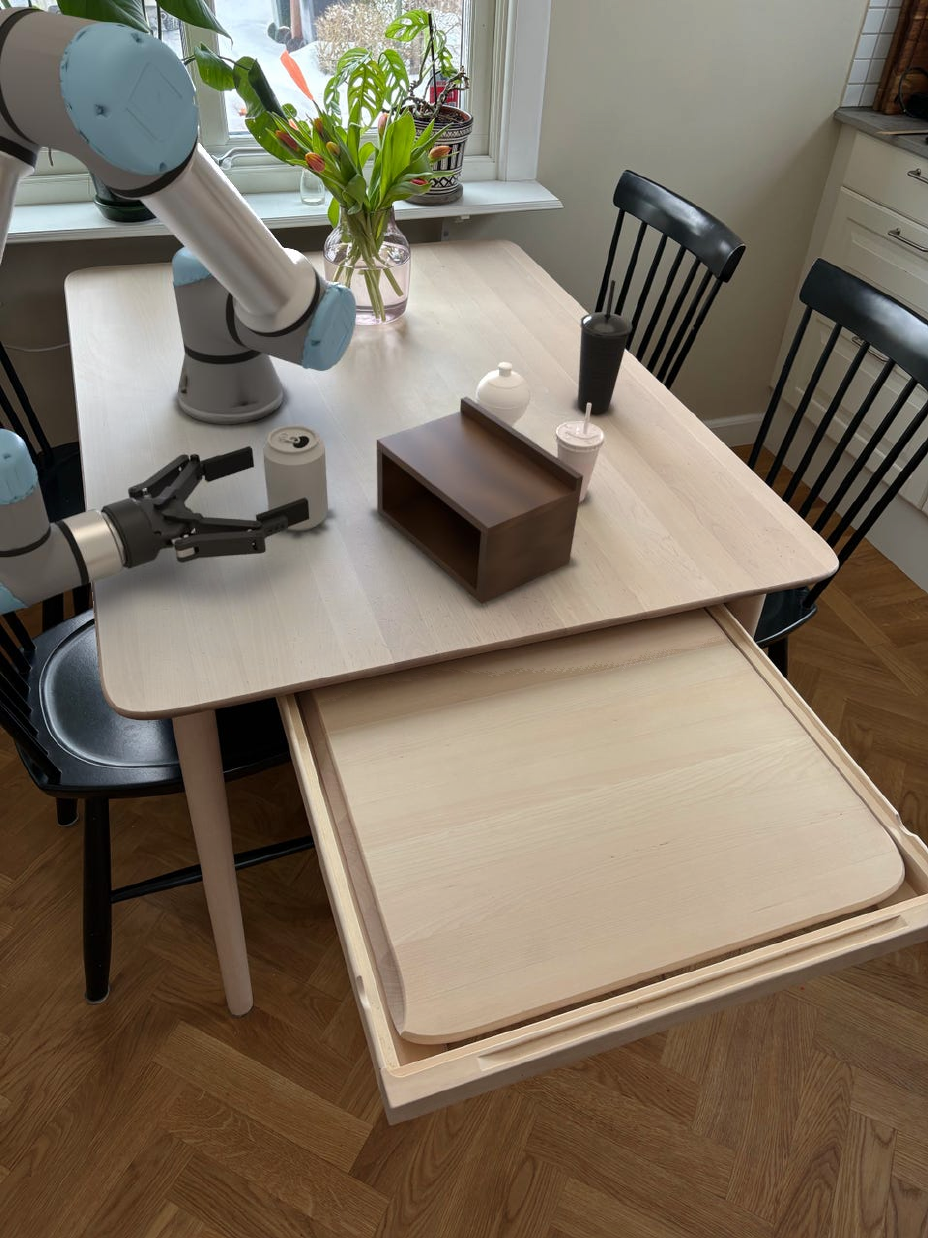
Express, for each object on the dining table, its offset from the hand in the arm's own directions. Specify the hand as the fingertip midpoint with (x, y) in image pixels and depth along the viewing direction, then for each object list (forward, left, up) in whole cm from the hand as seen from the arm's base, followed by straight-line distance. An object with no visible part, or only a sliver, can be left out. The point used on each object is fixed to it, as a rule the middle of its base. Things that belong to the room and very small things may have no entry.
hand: (279, 481), depth 118 cm
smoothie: (-20, +33, -7) cm, 39 cm away
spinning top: (-30, +20, -7) cm, 37 cm away
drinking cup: (-45, +31, -7) cm, 55 cm away
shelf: (-6, +23, -6) cm, 25 cm away
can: (-2, +1, -7) cm, 7 cm away
